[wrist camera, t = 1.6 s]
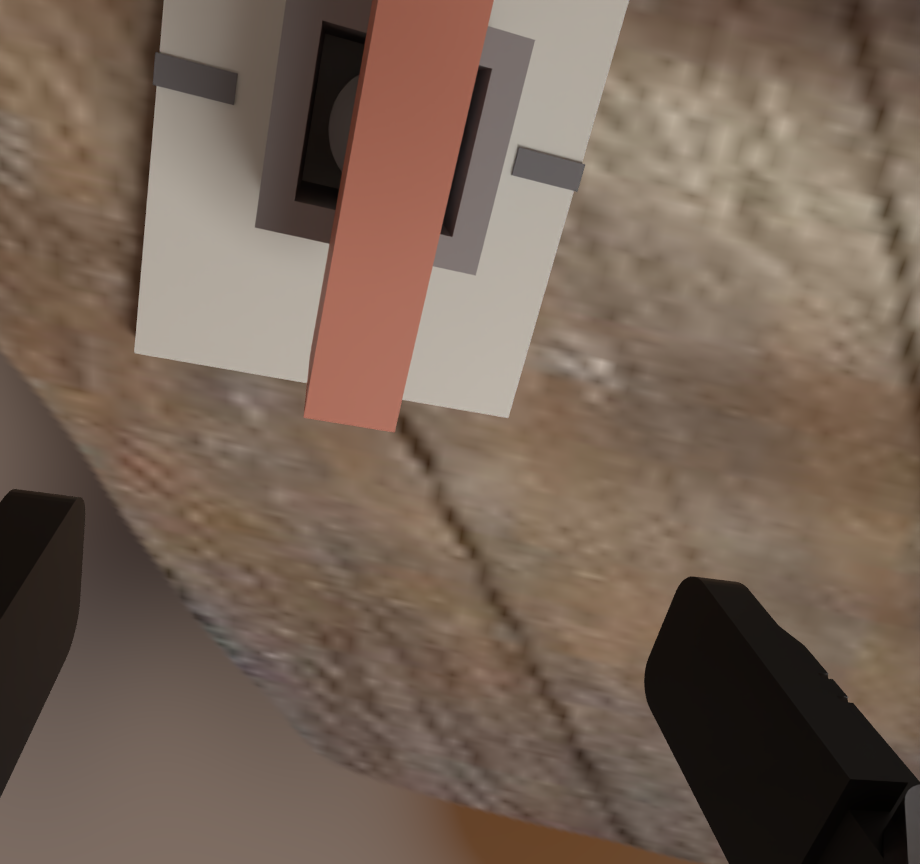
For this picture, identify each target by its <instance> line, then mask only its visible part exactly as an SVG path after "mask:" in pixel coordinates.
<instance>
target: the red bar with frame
mask: <svg viewBox="0 0 920 864" xmlns="http://www.w3.org/2000/svg"><path fill="white" fill-rule="evenodd" d="M493 2H494V0H286V4H285V11H284V19H283V26H282V33H281V40H280V47H279V55H278V62H277V69H276V76H275V84H274V91H273V98H272V105H271V113H270V120H269V127H268V134H267V142H266V149H265V156H264V163H263V171H262V178H261V185H260V192H259V200H258V207H257V214H256V221H255V228H259V229H264V230H268V231H273V232H277V233H282V234H287V235H291V236H296V237H300V238H305V239H310V240H314V241H319V242H323V243H328V244H329V249H328V255H327V261H326V266H325V272H324V278H323V284H322V289H321V295H320V301H319V306H318V312H317V318H316V323H315V329H314V335H313V340H312V346H311V352H310V359H309V369H308V379H307V389H306V399H305V409H304V418H309V419H316V420H322V421H328V422H334V423H340V424H346V425H352V426H358V427H365V428H371V429H377V430H383V431H389V432H395V428H396V424H397V420H398V415H399V411H400V407H401V402H402V398H403V394H404V389H405V385H406V380H407V376H408V372H409V367H410V363H411V359H412V354H413V350H414V346H415V341H416V337H417V333H418V328H419V324H420V319H421V315H422V311H423V306H424V302H425V298H426V293H427V289H428V285H429V280H430V276H431V272H432V267H433V266H434V267H439V268H443V269H448V270H452V271H457V272H462V273H466V274H471V275H475V276H476V272H477V268H478V264H479V260H480V256H481V252H482V249H483V245H484V241H485V237H486V233H487V229H488V225H489V221H490V217H491V213H492V209H493V205H494V201H495V197H496V193H497V189H498V185H499V181H500V177H501V173H502V169H503V165H504V161H505V157H506V153H507V149H508V145H509V142H510V138H511V134H512V130H513V126H514V122H515V118H516V114H517V110H518V106H519V102H520V98H521V94H522V90H523V86H524V82H525V78H526V74H527V70H528V66H529V62H530V58H531V54H532V50H533V46H534V42H535V40H533V39H530V38H527V37H523V36H520V35H517V34H513V33H510V32H507V31H503V30H500V29H497V28H493V27H490V26H488V23H489V19H490V15H491V10H492V6H493ZM325 34H329V35H332V36H336V37H340V38H343V39H347V40H350V41H354V42H357V43H361V44H365V45H364V51H363V56H362V62H361V68H360V73H359V79H358V85H357V90H356V96H355V102H354V107H353V113H352V119H351V124H350V130H349V136H348V142H347V147H346V153H345V159H344V164H343V170H342V176H341V181H340V187H339V189H337V188H333V187H329V186H325V185H320V184H316V183H312V182H308V181H303V180H302V177H303V171H304V165H305V158H306V152H307V146H308V139H309V133H310V127H311V120H312V114H313V108H314V101H315V95H316V89H317V82H318V76H319V69H320V63H321V57H322V50H323V44H324V38H325Z"/></svg>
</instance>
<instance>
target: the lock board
mask: <svg viewBox="0 0 920 864" xmlns="http://www.w3.org/2000/svg"><path fill="white" fill-rule="evenodd" d="M628 2H629V0H494V2H493V6H492V10H491V15H490V19H489V23H488V26H490V27H493V28H497V29H500V30H503V31H507V32H510V33H513V34H517V35H520V36H523V37H527V38H530V39H533V40H535V42H534V46H533V50H532V54H531V58H530V62H529V66H528V70H527V74H526V78H525V82H524V86H523V90H522V94H521V98H520V102H519V106H518V110H517V114H516V118H515V122H514V126H513V130H512V134H511V138H510V142H509V145H508V149H507V153H506V157H505V161H504V165H503V169H502V173H501V177H500V181H499V185H498V189H497V193H496V197H495V201H494V205H493V209H492V213H491V217H490V221H489V225H488V229H487V233H486V237H485V241H484V245H483V249H482V252H481V256H480V260H479V264H478V268H477V272H476V276H475V275H471V274H466V273H462V272H457V271H452V270H448V269H443V268H439V267H434V266H433V267H432V272H431V276H430V280H429V285H428V289H427V293H426V298H425V302H424V306H423V311H422V315H421V319H420V324H419V328H418V333H417V337H416V341H415V346H414V350H413V354H412V359H411V363H410V367H409V372H408V376H407V380H406V385H405V389H404V394H403V398H402V400H407V401H413V402H419V403H425V404H430V405H436V406H442V407H448V408H453V409H459V410H465V411H471V412H476V413H482V414H488V415H494V416H499V417H505V418H508V417H509V414H510V410H511V407H512V403H513V400H514V396H515V393H516V389H517V386H518V382H519V379H520V376H521V372H522V369H523V365H524V362H525V358H526V355H527V351H528V348H529V344H530V341H531V338H532V334H533V331H534V327H535V324H536V320H537V317H538V313H539V310H540V306H541V303H542V299H543V296H544V293H545V289H546V286H547V282H548V279H549V275H550V272H551V268H552V265H553V261H554V258H555V255H556V251H557V248H558V244H559V241H560V237H561V234H562V230H563V227H564V223H565V220H566V217H567V213H568V210H569V206H570V203H571V199H572V196H573V192H574V191H576V192H577V191H578V188H579V184H580V181H581V177H582V174H583V170H584V167H585V164H582V161H583V158H584V154H585V151H586V147H587V144H588V140H589V137H590V134H591V130H592V127H593V123H594V120H595V116H596V113H597V109H598V106H599V102H600V99H601V96H602V92H603V89H604V85H605V82H606V78H607V75H608V71H609V68H610V64H611V61H612V58H613V54H614V51H615V47H616V44H617V40H618V37H619V33H620V30H621V26H622V23H623V20H624V16H625V13H626V9H627V6H628ZM285 4H286V0H164V5H163V17H162V29H161V41H160V53H157V52H155V64H154V76H153V85H155V86H157V88H156V100H155V112H154V124H153V136H152V148H151V160H150V171H149V183H148V195H147V207H146V219H145V231H144V243H143V255H142V267H141V279H140V290H139V302H138V314H137V326H136V338H135V350H134V353H137V354H142V355H148V356H154V357H160V358H165V359H171V360H177V361H183V362H188V363H194V364H200V365H206V366H212V367H217V368H223V369H229V370H235V371H240V372H246V373H252V374H258V375H263V376H269V377H275V378H281V379H286V380H292V381H298V382H304V383H307V379H308V369H309V359H310V352H311V346H312V340H313V335H314V329H315V323H316V318H317V312H318V306H319V301H320V295H321V289H322V284H323V278H324V272H325V266H326V261H327V255H328V249H329V244H328V243H323V242H319V241H314V240H310V239H305V238H300V237H296V236H291V235H287V234H282V233H277V232H273V231H268V230H264V229H259V228H255V221H256V214H257V207H258V200H259V192H260V185H261V178H262V171H263V163H264V156H265V149H266V142H267V134H268V127H269V120H270V113H271V105H272V98H273V91H274V84H275V76H276V69H277V62H278V55H279V47H280V40H281V33H282V26H283V19H284V11H285ZM364 45H365V44H361V43H357V42H354V41H350V40H347V39H343V38H340V37H336V36H332V35H329V34H325V38H324V44H323V50H322V57H321V63H320V69H319V76H318V82H317V89H316V95H315V101H314V108H313V114H312V120H311V127H310V133H309V139H308V146H307V152H306V158H305V165H304V171H303V177H302V180H303V181H308V182H312V183H316V184H320V185H325V186H329V187H333V188H337V189H339V187H340V181H341V176H342V170H343V164H344V159H345V153H346V147H347V142H348V136H349V130H350V124H351V119H352V113H353V107H354V102H355V96H356V90H357V85H358V79H359V73H360V68H361V62H362V56H363V51H364Z"/></svg>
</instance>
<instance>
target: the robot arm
mask: <svg viewBox="0 0 920 864" xmlns="http://www.w3.org/2000/svg"><path fill="white" fill-rule="evenodd" d="M84 525H85V504H84V500H83V499H82V498H81V497H73V496H65V495H58V494H49V493H42V492H34V491H26V490H17V489H13V490H11V491H9V493H8V494H7V495H6V496H5V497H4V498H3V500H2V501H1V502H0V797H1V795H2V793H3V791H4V789H5V787H6V784H7V782H8V780H9V778H10V776H11V774H12V772H13V770H14V767H15V765H16V763H17V761H18V759H19V757H20V754H21V753H22V751H23V748H24V746H25V744H26V742H27V740H28V738H29V736H30V734H31V731H32V729H33V727H34V725H35V723H36V721H37V719H38V717H39V715H40V713H41V710H42V708H43V706H44V704H45V702H46V700H47V698H48V696H49V694H50V691H51V689H52V687H53V685H54V683H55V681H56V679H57V677H58V674H59V672H60V670H61V668H62V666H63V664H64V662H65V660H66V657H67V655H68V652H69V650H70V647H71V644H72V641H73V637H74V633H75V629H76V625H77V619H78V614H79V606H80V592H81V576H82V559H83V541H84V527H85V526H84ZM644 685H645V694H646V699H647V702H648V705H649V707H650V710H651V712H652V714H653V715H654V717H655V719H656V721H657V723H658V725H659V727H660V729H661V731H662V733H663V735H664V737H665V739H666V741H667V743H668V745H669V747H670V749H671V751H672V753H673V755H674V757H675V759H676V761H677V763H678V764H679V766H680V768H681V770H682V772H683V774H684V776H685V778H686V780H687V782H688V784H689V786H690V788H691V790H692V792H693V794H694V796H695V798H696V800H697V802H698V804H699V806H700V808H701V810H702V812H703V814H704V815H705V817H706V819H707V821H708V823H709V825H710V827H711V829H712V831H713V833H714V835H715V837H716V839H717V841H718V843H719V845H720V847H721V849H722V851H723V853H724V855H725V857H726V859H727V861H728V863H729V864H920V782H919V780H918V779H917V778H916V777H915V776H914V774H913V773H912V772H911V771H910V770H909V769H908V767H907V766H906V765H905V764H904V763H903V761H902V760H901V759H900V758H899V757H898V756H897V754H896V753H895V752H894V751H893V750H892V748H891V747H890V746H889V745H888V744H887V743H886V741H885V740H884V739H883V738H882V737H881V735H880V734H879V733H878V732H877V731H876V730H875V728H874V727H873V726H872V725H871V724H870V722H869V721H868V720H867V719H866V718H865V717H864V715H863V714H862V713H861V712H860V711H859V709H858V708H857V707H856V706H855V705H854V704H853V703H848V700H847V698H848V696H847V695H846V694H845V693H844V692H843V691H842V689H841V688H840V687H839V686H838V685H837V683H836V682H835V681H834V680H833V679H828V673H827V672H826V670H825V669H824V668H823V667H822V666H821V665H820V663H819V662H818V661H817V660H816V659H815V657H814V656H813V655H812V654H811V653H810V652H809V650H808V649H807V648H806V647H805V646H804V645H803V644H802V643H800V642H799V641H798V640H796V639H795V638H794V637H792V636H791V635H790V634H789V633H787V632H786V631H785V630H783V629H782V628H781V627H780V626H778V624H777V623H776V622H775V621H774V620H773V618H772V617H771V616H770V615H769V614H768V612H767V611H766V610H765V609H764V608H763V606H762V605H761V604H760V603H759V602H758V600H757V599H756V598H755V597H754V595H753V594H752V593H751V592H750V591H749V589H748V588H747V587H746V586H745V585H743V584H741V583H739V582H732V581H724V580H717V579H709V578H701V577H688V578H686V579H685V580H683V581H682V582H681V584H680V585H679V587H678V588H677V590H676V593H675V595H674V598H673V600H672V602H671V605H670V607H669V610H668V612H667V615H666V617H665V619H664V622H663V624H662V627H661V629H660V631H659V634H658V636H657V639H656V641H655V644H654V646H653V648H652V651H651V653H650V656H649V658H648V661H647V664H646V669H645V678H644Z"/></svg>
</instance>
